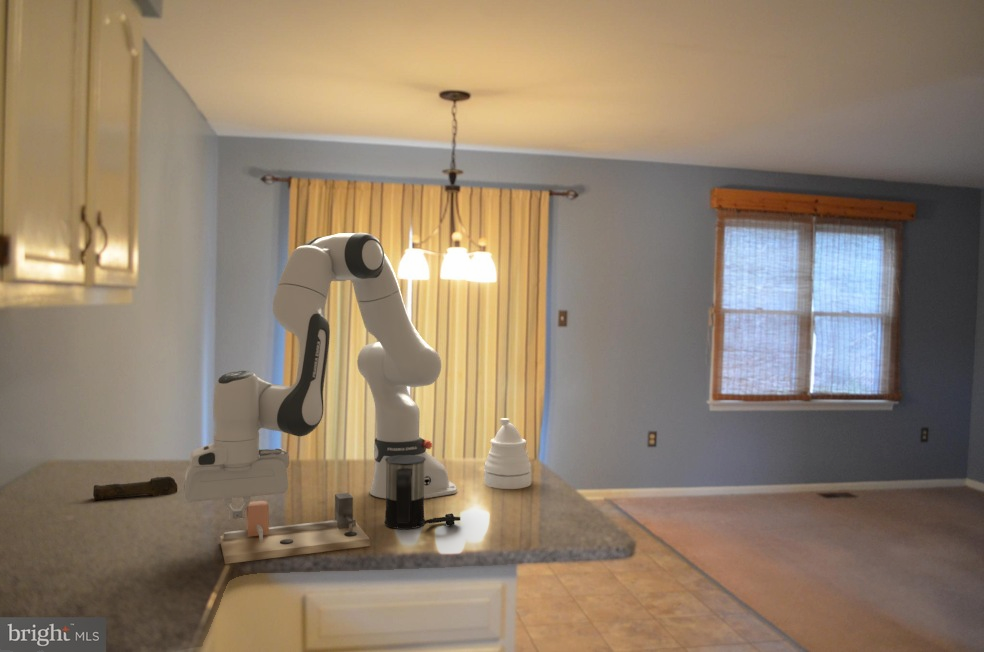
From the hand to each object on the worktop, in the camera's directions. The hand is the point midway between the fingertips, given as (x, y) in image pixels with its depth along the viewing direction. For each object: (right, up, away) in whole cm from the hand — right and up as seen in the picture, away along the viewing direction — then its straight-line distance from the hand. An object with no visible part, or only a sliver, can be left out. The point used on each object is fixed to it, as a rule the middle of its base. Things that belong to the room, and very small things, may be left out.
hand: (237, 518), depth 154 cm
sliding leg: (+5, -4, -1) cm, 6 cm away
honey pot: (+56, -4, +53) cm, 78 cm away
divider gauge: (+12, -6, +1) cm, 13 cm away
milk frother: (+36, -6, +15) cm, 40 cm away
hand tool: (-37, -4, +35) cm, 52 cm away
